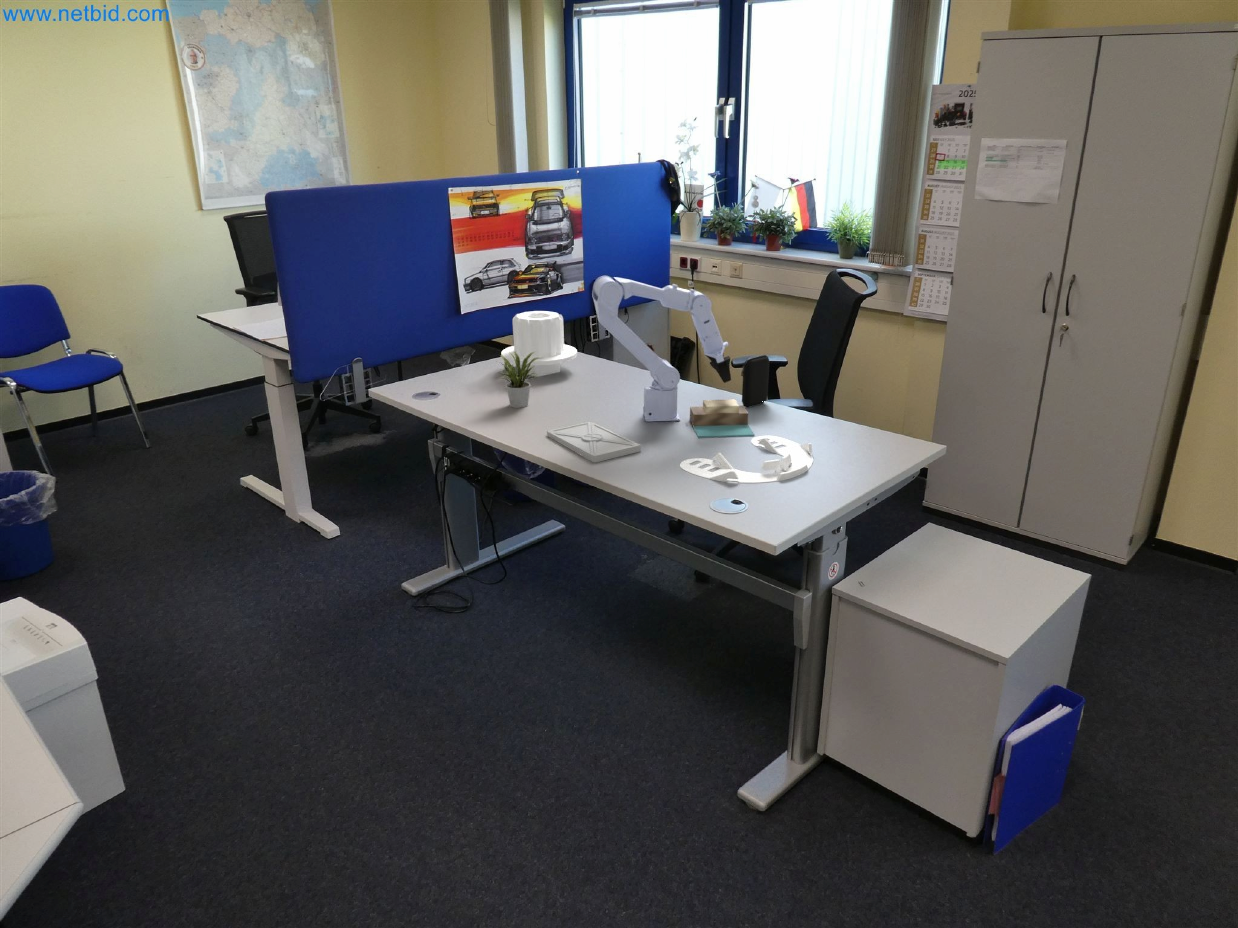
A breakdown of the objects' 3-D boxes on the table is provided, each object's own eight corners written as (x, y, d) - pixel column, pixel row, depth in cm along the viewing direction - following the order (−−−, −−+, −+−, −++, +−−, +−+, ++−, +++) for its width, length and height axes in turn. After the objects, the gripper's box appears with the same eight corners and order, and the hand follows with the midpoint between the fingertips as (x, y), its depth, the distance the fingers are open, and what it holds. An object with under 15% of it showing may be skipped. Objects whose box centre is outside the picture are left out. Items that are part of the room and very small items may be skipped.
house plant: (551, 398, 259) (549, 345, 253) (543, 412, 246) (541, 357, 240) (505, 397, 260) (502, 344, 254) (494, 411, 248) (491, 356, 242)
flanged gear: (549, 358, 303) (547, 304, 296) (592, 372, 285) (591, 316, 278) (488, 370, 288) (484, 314, 282) (530, 386, 271) (527, 327, 264)
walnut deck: (693, 426, 234) (693, 414, 232) (689, 418, 240) (690, 406, 239) (747, 425, 235) (748, 413, 233) (742, 417, 241) (743, 405, 240)
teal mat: (698, 437, 226) (698, 436, 226) (693, 427, 233) (693, 426, 233) (754, 435, 227) (754, 434, 226) (748, 426, 234) (748, 424, 234)
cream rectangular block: (706, 413, 233) (706, 406, 232) (702, 407, 239) (703, 400, 238) (739, 412, 234) (739, 405, 233) (734, 406, 239) (735, 399, 238)
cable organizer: (768, 435, 229) (768, 423, 227) (842, 460, 211) (843, 447, 210) (671, 467, 208) (671, 454, 207) (744, 497, 191) (745, 483, 189)
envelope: (590, 428, 235) (547, 438, 228) (590, 420, 235) (546, 430, 228) (640, 452, 217) (594, 463, 210) (640, 443, 216) (594, 455, 209)
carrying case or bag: (744, 410, 246) (746, 361, 241) (736, 408, 249) (738, 358, 243) (769, 403, 252) (772, 354, 247) (761, 401, 255) (764, 352, 249)
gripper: (727, 335, 228) (743, 379, 234) (717, 320, 242) (733, 363, 247) (702, 345, 229) (719, 389, 235) (694, 330, 242) (710, 372, 248)
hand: (724, 376), depth 241 cm, fingers open, 7 cm apart
